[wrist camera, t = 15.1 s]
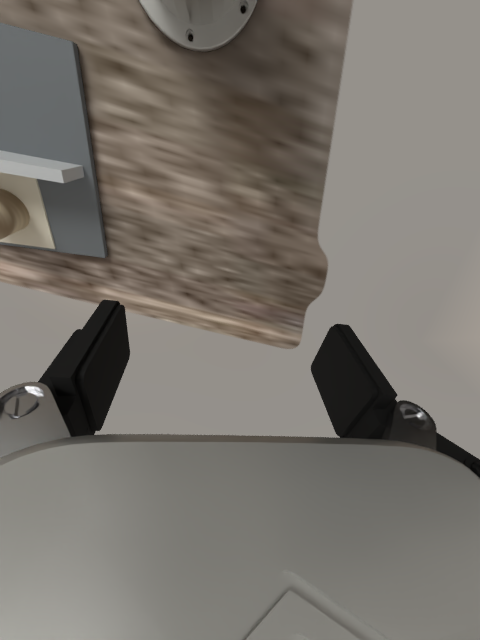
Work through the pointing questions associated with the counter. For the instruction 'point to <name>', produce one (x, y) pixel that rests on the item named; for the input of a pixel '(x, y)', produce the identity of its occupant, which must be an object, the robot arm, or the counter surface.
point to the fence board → (48, 144)
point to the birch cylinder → (12, 214)
